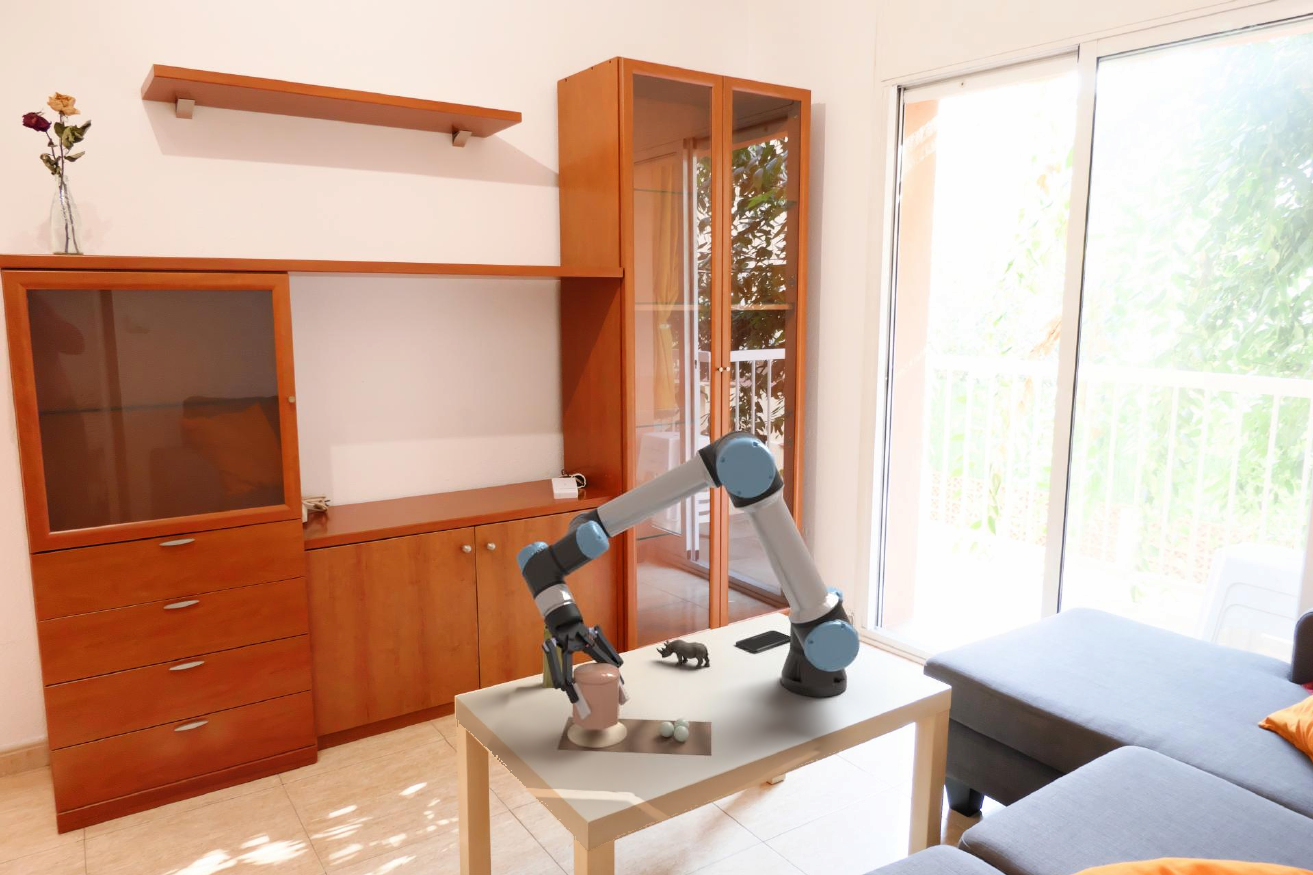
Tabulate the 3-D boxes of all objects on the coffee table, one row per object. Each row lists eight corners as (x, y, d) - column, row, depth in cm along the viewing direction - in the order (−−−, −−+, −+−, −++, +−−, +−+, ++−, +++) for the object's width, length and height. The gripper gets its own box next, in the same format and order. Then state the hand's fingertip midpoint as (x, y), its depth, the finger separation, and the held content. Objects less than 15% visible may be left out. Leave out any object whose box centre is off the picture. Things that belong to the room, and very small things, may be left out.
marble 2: (689, 729, 178) (689, 715, 178) (688, 736, 175) (689, 722, 175) (674, 728, 179) (674, 715, 178) (674, 735, 176) (674, 721, 175)
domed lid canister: (600, 704, 182) (600, 658, 181) (628, 720, 175) (628, 672, 174) (564, 717, 176) (564, 670, 175) (591, 734, 169) (592, 685, 168)
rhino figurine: (659, 656, 220) (659, 633, 219) (711, 664, 215) (712, 641, 214) (653, 662, 216) (653, 639, 215) (706, 670, 211) (706, 647, 210)
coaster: (629, 721, 182) (629, 719, 182) (624, 749, 170) (624, 747, 170) (572, 718, 183) (572, 717, 182) (562, 746, 171) (563, 744, 171)
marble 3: (688, 737, 175) (689, 723, 174) (688, 744, 172) (688, 730, 172) (673, 737, 175) (674, 722, 175) (673, 744, 172) (673, 729, 172)
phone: (794, 637, 231) (755, 651, 222) (794, 642, 231) (755, 655, 222) (772, 629, 237) (733, 642, 228) (772, 633, 237) (733, 646, 228)
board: (711, 727, 182) (711, 721, 182) (711, 761, 168) (711, 755, 168) (568, 722, 184) (568, 716, 184) (557, 755, 170) (557, 749, 170)
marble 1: (674, 732, 177) (674, 719, 176) (673, 740, 174) (673, 725, 173) (659, 732, 177) (659, 718, 177) (658, 739, 174) (658, 725, 174)
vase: (547, 693, 198) (547, 632, 196) (538, 682, 203) (537, 624, 201) (572, 687, 201) (572, 628, 199) (562, 678, 206) (562, 620, 204)
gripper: (593, 608, 192) (639, 701, 182) (508, 631, 178) (553, 733, 168) (608, 591, 187) (656, 685, 178) (522, 613, 173) (569, 717, 164)
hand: (606, 708), depth 173 cm, fingers closed on domed lid canister, 9 cm apart
